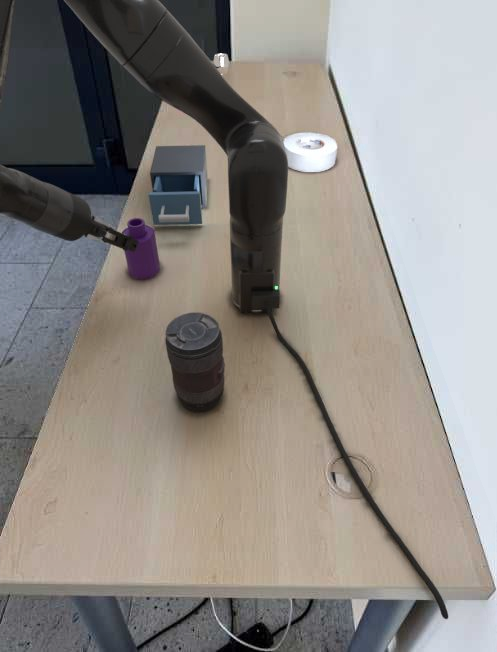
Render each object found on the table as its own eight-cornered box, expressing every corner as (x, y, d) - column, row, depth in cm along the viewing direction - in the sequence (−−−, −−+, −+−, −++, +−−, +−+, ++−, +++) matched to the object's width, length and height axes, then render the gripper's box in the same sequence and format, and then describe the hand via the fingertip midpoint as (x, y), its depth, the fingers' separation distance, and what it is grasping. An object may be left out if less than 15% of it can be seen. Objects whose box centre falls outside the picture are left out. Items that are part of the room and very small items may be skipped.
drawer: (201, 238, 109) (198, 207, 104) (150, 239, 109) (145, 208, 104) (204, 195, 123) (202, 166, 118) (159, 196, 123) (154, 167, 118)
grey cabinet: (206, 207, 121) (203, 171, 114) (155, 208, 120) (149, 172, 114) (207, 179, 131) (205, 145, 124) (160, 180, 131) (156, 145, 124)
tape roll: (339, 152, 143) (342, 135, 139) (329, 175, 132) (332, 158, 129) (289, 146, 146) (290, 129, 143) (275, 168, 136) (276, 150, 132)
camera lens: (202, 369, 82) (195, 302, 72) (235, 395, 78) (233, 329, 68) (164, 396, 78) (151, 330, 68) (198, 425, 74) (190, 360, 64)
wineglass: (212, 89, 182) (210, 54, 174) (226, 87, 184) (225, 52, 176) (218, 94, 178) (216, 58, 170) (232, 92, 180) (231, 56, 172)
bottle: (158, 278, 100) (150, 231, 92) (127, 279, 100) (116, 232, 92) (161, 260, 105) (154, 213, 97) (131, 260, 105) (121, 213, 97)
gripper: (93, 203, 75) (155, 232, 90) (35, 177, 81) (102, 209, 96) (74, 247, 75) (138, 270, 90) (18, 219, 81) (87, 244, 96)
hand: (120, 238), depth 93 cm, fingers open, 8 cm apart
